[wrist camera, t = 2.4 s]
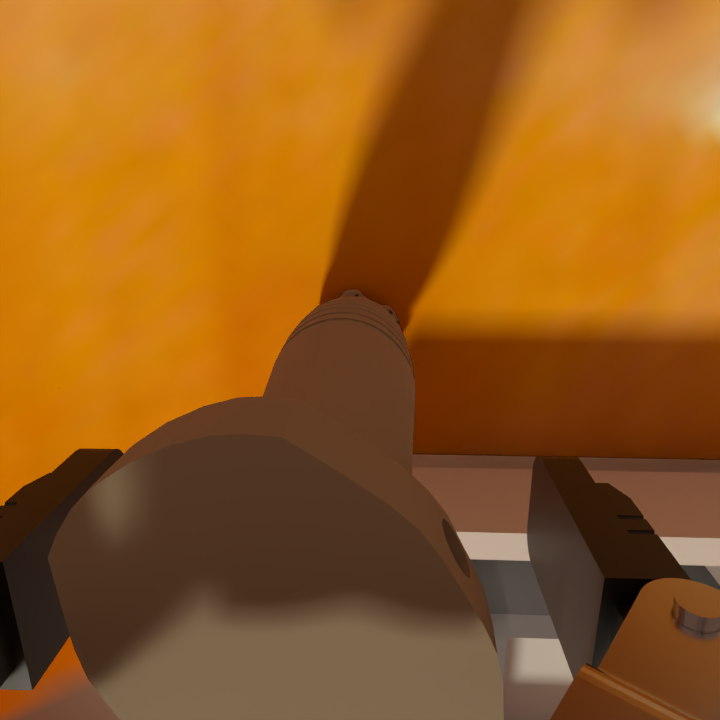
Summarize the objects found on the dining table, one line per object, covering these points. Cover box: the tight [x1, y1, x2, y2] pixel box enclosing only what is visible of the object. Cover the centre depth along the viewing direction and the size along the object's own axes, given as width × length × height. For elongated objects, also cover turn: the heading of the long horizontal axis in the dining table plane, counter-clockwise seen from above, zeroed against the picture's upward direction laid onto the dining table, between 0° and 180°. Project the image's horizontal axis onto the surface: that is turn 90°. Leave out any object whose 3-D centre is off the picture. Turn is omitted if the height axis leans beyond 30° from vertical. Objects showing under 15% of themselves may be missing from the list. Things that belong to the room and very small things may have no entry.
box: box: [412, 454, 720, 720], centre depth 23 cm, size 18×18×5 cm
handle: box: [48, 289, 504, 720], centre depth 14 cm, size 5×6×15 cm
